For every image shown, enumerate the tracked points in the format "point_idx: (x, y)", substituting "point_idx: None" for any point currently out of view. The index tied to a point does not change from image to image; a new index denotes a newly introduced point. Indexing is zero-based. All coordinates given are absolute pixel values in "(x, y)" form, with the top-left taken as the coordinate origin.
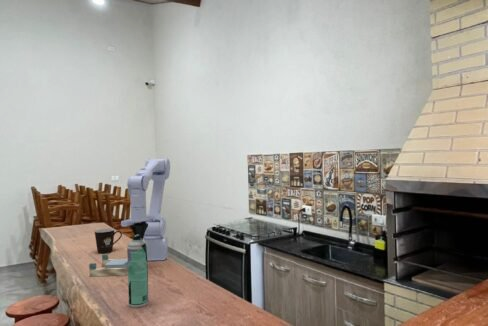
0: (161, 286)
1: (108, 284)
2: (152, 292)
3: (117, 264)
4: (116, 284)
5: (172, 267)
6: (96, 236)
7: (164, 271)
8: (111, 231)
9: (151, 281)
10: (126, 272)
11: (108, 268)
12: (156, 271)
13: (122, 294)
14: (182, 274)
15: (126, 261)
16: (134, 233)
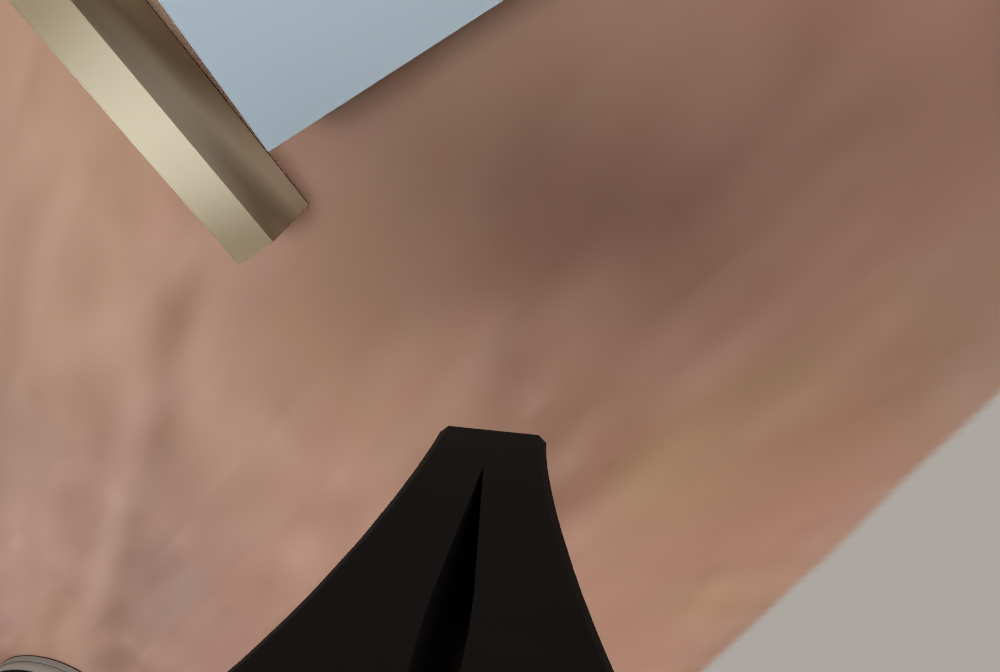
0: None
1: (9, 286)
2: (203, 668)
3: (199, 53)
4: (73, 355)
5: (782, 497)
6: None
7: (618, 502)
8: None
9: (336, 557)
10: (293, 219)
11: (54, 9)
12: (580, 435)
13: (29, 543)
14: (614, 662)
15: (404, 47)
16: (305, 650)
